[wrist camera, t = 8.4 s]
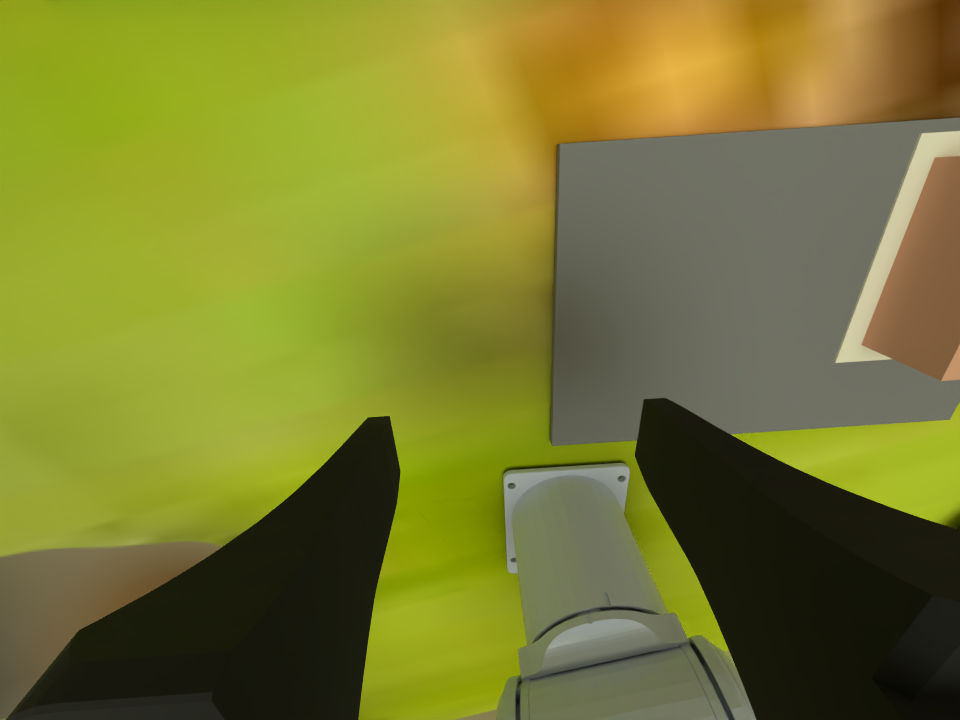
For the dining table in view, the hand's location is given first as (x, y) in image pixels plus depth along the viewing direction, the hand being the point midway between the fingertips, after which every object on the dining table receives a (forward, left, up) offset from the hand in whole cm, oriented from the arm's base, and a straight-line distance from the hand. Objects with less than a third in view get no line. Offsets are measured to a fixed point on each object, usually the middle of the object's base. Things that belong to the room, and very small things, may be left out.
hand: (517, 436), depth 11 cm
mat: (0, -15, -10) cm, 18 cm away
